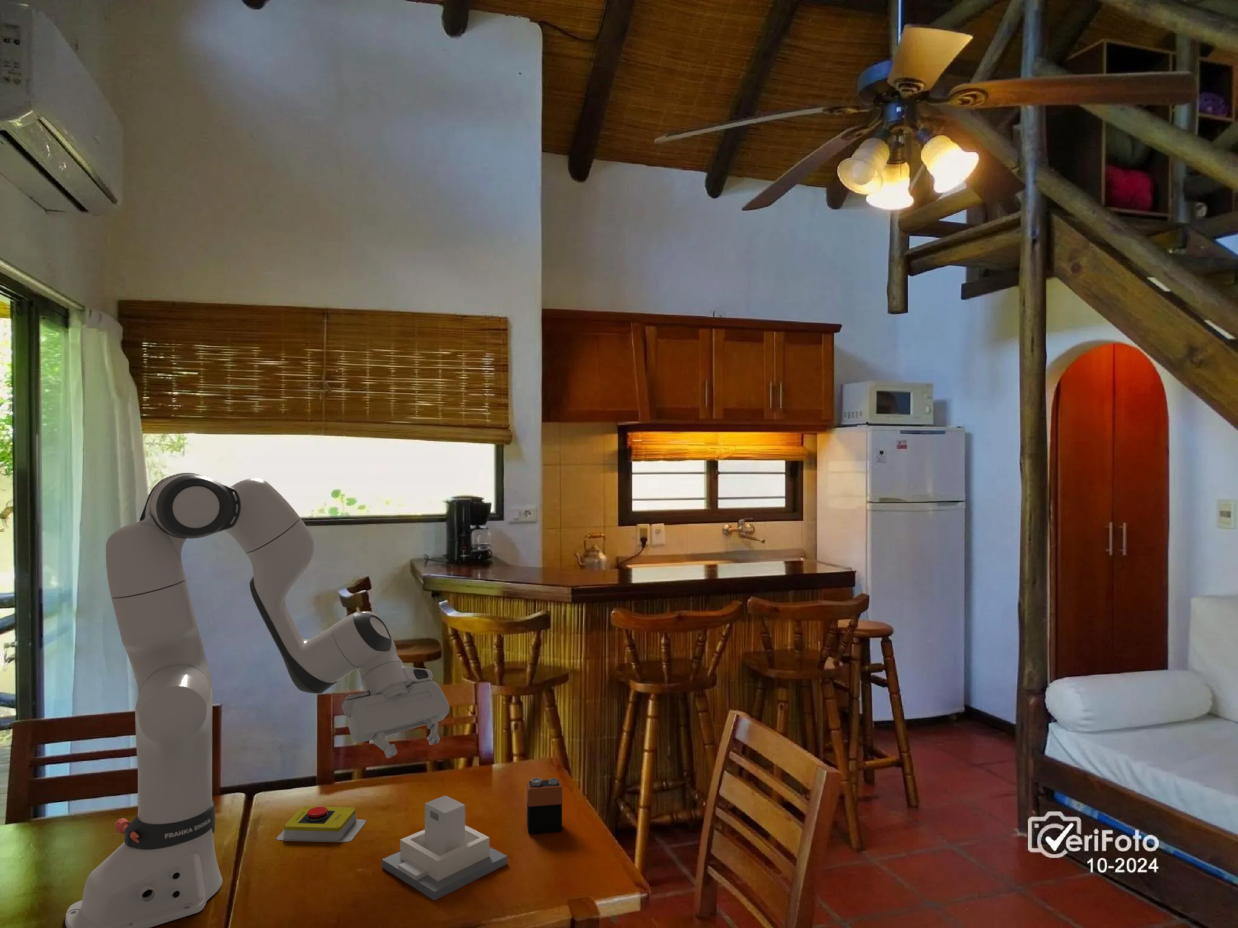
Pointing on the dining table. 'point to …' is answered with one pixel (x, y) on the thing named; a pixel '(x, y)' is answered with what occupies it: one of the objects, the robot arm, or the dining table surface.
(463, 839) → the block
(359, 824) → the emergency button
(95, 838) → the dining table surface
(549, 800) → the battery
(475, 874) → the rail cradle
